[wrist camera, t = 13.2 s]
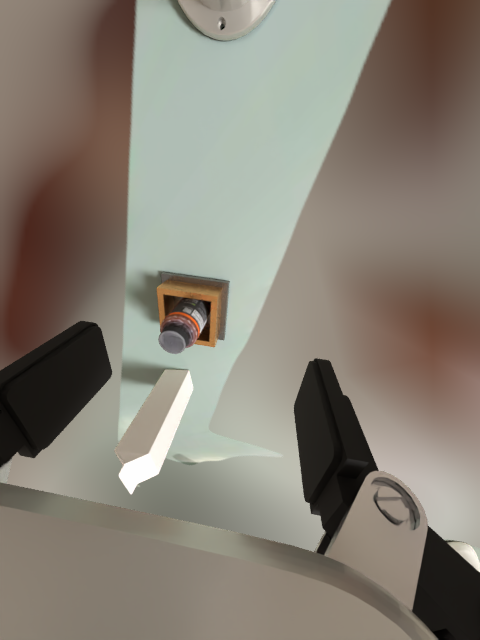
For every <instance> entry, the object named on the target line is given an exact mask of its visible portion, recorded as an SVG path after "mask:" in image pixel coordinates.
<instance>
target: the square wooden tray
mask: <svg viewBox="0 0 480 640" xmlns="http://www.w3.org/2000/svg"><path fill="white" fill-rule="evenodd" d="M161 278H162V284H161V285H159V286H158V287H157V297H158V308H159V318H160V327H161V323H162V321H163V320H164V318H165V317H166V316H167V315H168V314H169V313H170V312H171V310H172V309H173V308H174V307H175V306H176V305H177V304H178V303H179V301H180V300H181V299H182V298H184V297H185V298H191V299H198V300H205V301H206V302H207V303H208V305H209V307H210V315H209V317H208V320H207V322H206V323H205V325H204V327H203V329H202V331H201V333H200V335H199V337H198V339H197V341H196V342H195V343H194V344H198V345H204V346H210V347H215V345H216V342H217V340H218V339H220V340H224V338H225V329H226V317H227V305H228V293H229V282H230V281H224V280H217V279H210V278H203V277H196V276H189V275H182V274H175V273H168V272H163V273H161Z"/></svg>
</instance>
